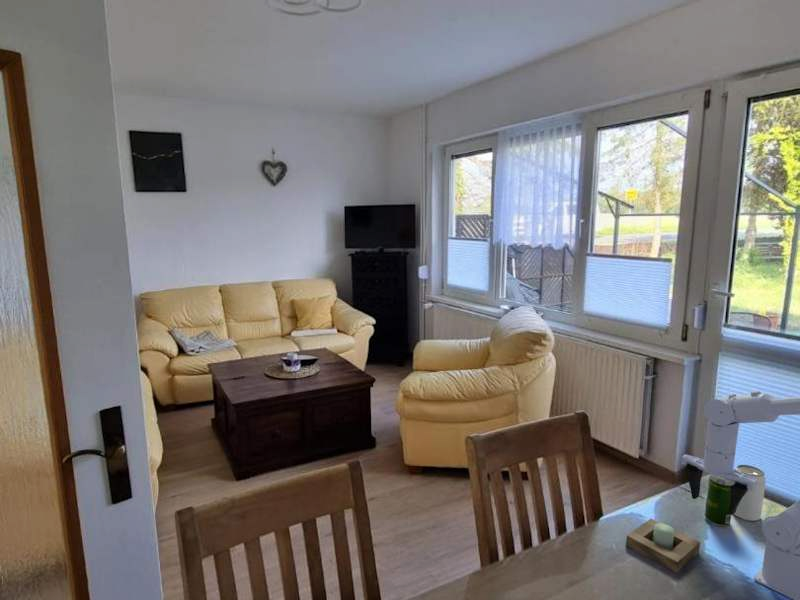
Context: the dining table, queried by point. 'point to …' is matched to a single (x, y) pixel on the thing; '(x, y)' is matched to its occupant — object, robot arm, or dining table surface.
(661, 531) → the peg
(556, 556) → the dining table surface
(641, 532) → the socket
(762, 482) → the can
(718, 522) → the beer can
